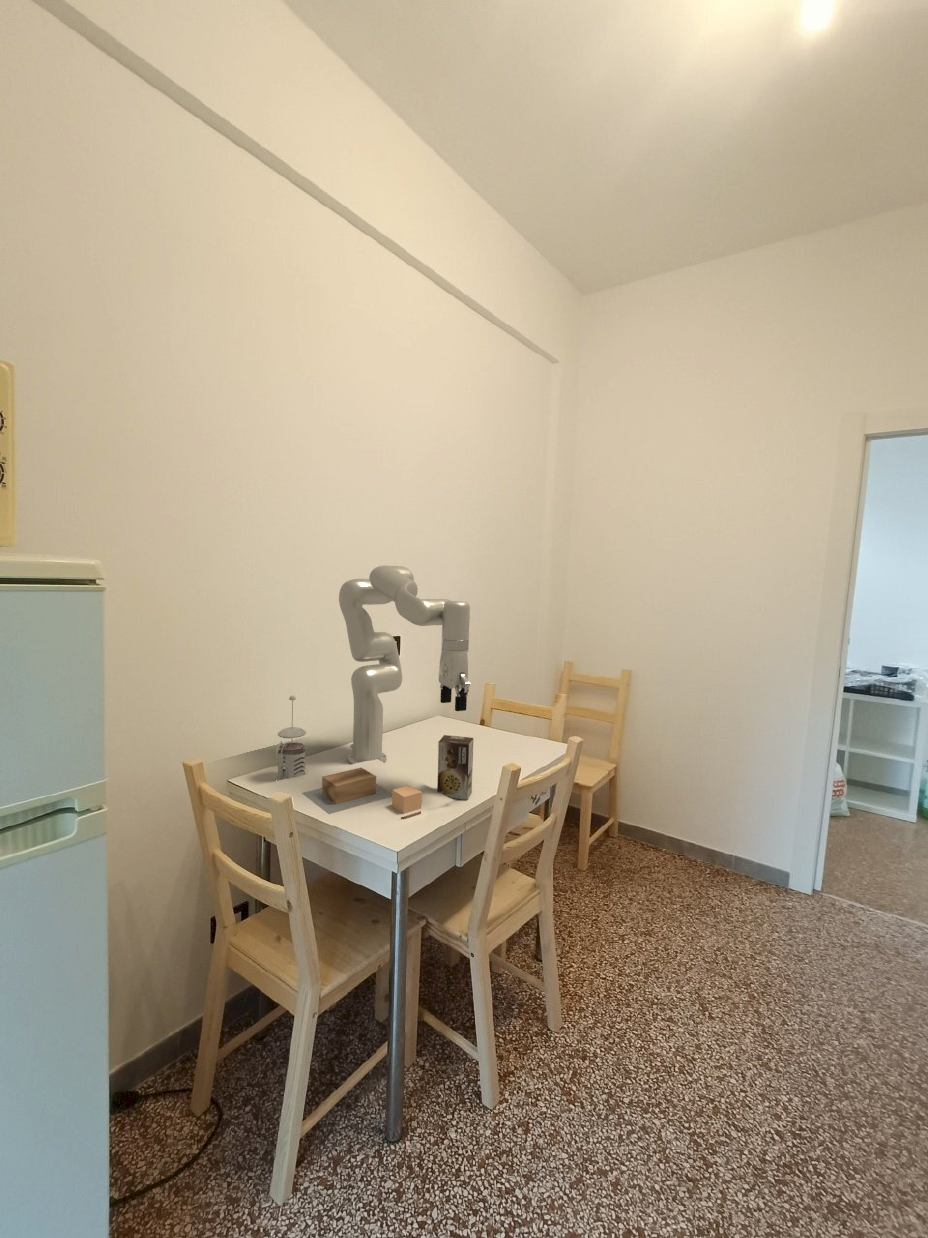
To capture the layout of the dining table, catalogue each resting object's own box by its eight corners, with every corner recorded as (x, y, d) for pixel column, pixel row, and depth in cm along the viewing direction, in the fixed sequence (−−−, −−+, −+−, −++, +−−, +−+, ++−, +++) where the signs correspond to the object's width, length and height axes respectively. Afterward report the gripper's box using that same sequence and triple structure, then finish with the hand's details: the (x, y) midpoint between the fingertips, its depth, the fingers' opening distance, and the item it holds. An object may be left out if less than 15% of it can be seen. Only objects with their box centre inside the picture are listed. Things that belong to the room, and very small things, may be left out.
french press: (314, 774, 166) (316, 693, 164) (293, 788, 155) (294, 702, 153) (286, 770, 169) (287, 690, 167) (263, 783, 158) (264, 698, 155)
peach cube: (391, 812, 143) (392, 790, 142) (409, 806, 146) (409, 785, 146) (403, 819, 138) (404, 797, 138) (421, 814, 142) (421, 792, 142)
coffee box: (472, 791, 158) (474, 737, 156) (467, 800, 151) (469, 744, 150) (442, 787, 160) (444, 734, 158) (435, 796, 153) (438, 740, 152)
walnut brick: (322, 794, 148) (322, 776, 148) (360, 784, 156) (361, 767, 155) (336, 804, 142) (336, 786, 142) (375, 793, 150) (376, 776, 149)
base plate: (301, 798, 149) (301, 793, 148) (365, 782, 162) (365, 777, 162) (328, 819, 137) (329, 814, 136) (395, 800, 150) (395, 795, 149)
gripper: (430, 642, 157) (428, 700, 158) (456, 650, 141) (453, 715, 143) (454, 641, 160) (452, 698, 161) (481, 649, 145) (479, 713, 146)
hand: (452, 706), depth 152 cm, fingers open, 9 cm apart
